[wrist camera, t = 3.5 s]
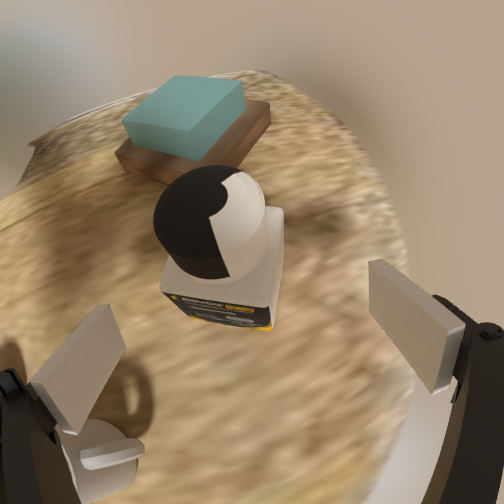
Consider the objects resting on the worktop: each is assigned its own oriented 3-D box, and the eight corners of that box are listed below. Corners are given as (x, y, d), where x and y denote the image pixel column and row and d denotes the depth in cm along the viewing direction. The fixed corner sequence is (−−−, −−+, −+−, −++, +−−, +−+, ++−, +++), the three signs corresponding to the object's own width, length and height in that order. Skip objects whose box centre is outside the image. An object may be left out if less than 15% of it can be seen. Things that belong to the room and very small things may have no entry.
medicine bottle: (189, 318, 24) (119, 253, 13) (208, 245, 27) (165, 150, 16) (273, 332, 23) (263, 272, 12) (284, 253, 26) (282, 152, 15)
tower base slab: (126, 174, 34) (114, 152, 31) (187, 111, 39) (180, 90, 36) (214, 204, 30) (205, 179, 26) (271, 127, 35) (269, 102, 32)
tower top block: (133, 145, 31) (121, 120, 27) (182, 99, 34) (174, 75, 31) (199, 161, 28) (189, 131, 24) (246, 108, 32) (242, 81, 28)
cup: (66, 426, 19) (-1, 422, 11) (145, 401, 21) (81, 397, 13) (94, 492, 16) (31, 510, 8) (180, 476, 17) (129, 509, 9)
